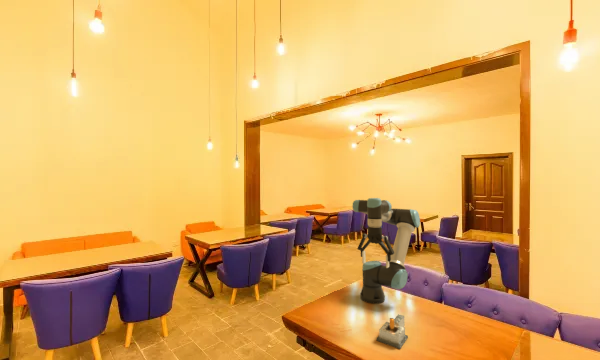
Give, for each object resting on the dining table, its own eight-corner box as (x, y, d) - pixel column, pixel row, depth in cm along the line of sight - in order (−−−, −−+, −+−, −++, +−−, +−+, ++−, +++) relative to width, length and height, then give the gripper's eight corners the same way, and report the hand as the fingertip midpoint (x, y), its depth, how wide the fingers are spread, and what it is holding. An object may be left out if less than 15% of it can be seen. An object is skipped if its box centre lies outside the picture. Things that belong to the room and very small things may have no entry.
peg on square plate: (385, 330, 135) (384, 311, 135) (407, 337, 129) (407, 317, 129) (376, 340, 127) (376, 320, 127) (400, 349, 120) (399, 327, 120)
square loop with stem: (392, 322, 141) (392, 312, 141) (410, 327, 136) (410, 317, 136) (379, 338, 127) (379, 327, 127) (398, 345, 121) (398, 333, 121)
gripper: (351, 225, 153) (351, 262, 153) (395, 229, 138) (395, 271, 138) (357, 223, 159) (357, 259, 159) (399, 227, 144) (400, 267, 144)
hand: (375, 265), depth 148 cm, fingers open, 13 cm apart
